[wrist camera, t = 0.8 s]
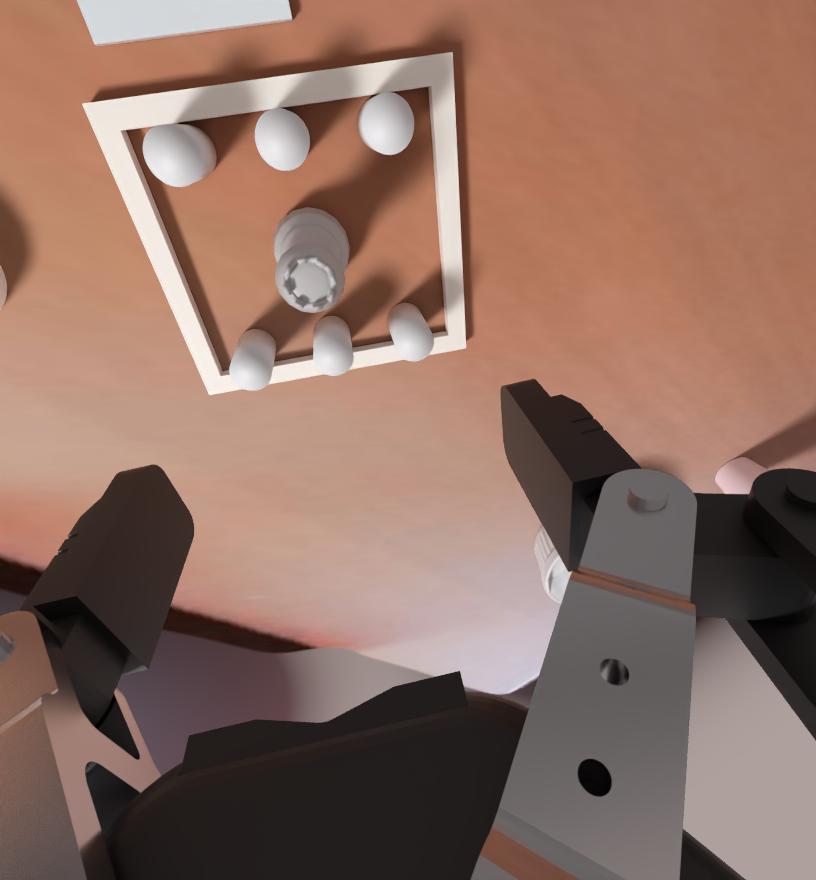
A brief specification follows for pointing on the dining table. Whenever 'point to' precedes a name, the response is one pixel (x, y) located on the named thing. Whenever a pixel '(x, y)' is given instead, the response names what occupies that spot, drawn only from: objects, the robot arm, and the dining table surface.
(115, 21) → the tile
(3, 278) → the white holed part
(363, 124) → the frame
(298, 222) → the rook chess piece
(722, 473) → the smoothie
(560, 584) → the ramekin
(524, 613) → the dining table surface
